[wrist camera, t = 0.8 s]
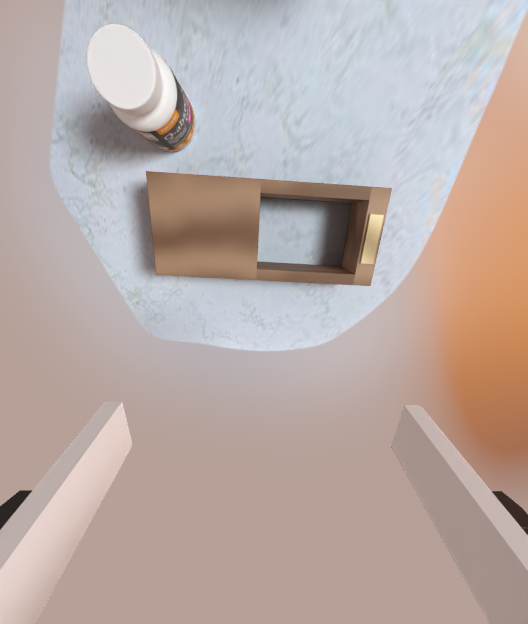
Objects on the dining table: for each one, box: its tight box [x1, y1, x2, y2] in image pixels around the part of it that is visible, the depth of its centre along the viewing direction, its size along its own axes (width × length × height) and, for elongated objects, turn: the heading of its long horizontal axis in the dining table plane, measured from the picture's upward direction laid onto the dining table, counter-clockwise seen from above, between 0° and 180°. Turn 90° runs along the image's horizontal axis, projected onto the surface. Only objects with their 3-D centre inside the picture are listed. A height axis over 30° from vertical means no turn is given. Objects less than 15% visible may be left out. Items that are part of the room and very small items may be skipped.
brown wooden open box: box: [146, 171, 392, 286], centre depth 28 cm, size 10×24×5 cm, turn 87°
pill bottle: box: [87, 24, 196, 151], centre depth 22 cm, size 6×6×10 cm
